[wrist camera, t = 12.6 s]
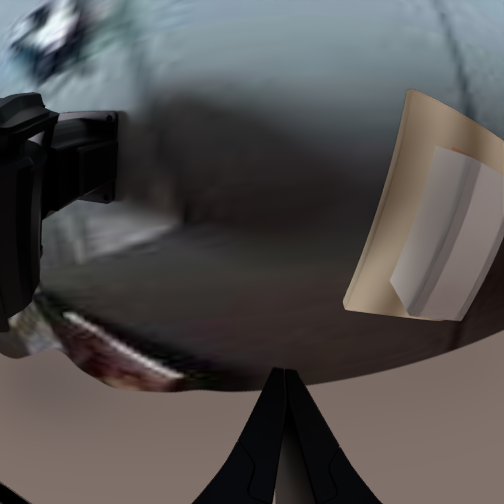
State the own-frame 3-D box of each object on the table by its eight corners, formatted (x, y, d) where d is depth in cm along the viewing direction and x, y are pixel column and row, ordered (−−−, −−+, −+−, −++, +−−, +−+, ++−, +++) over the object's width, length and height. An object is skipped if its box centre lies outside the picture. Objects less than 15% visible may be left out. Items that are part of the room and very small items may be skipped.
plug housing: (389, 280, 19) (409, 315, 15) (436, 145, 14) (472, 157, 10) (438, 289, 19) (461, 321, 15) (484, 170, 14) (520, 186, 10)
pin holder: (342, 301, 21) (353, 337, 17) (406, 89, 13) (439, 87, 10) (437, 314, 21) (455, 344, 17) (504, 144, 14) (537, 156, 10)
